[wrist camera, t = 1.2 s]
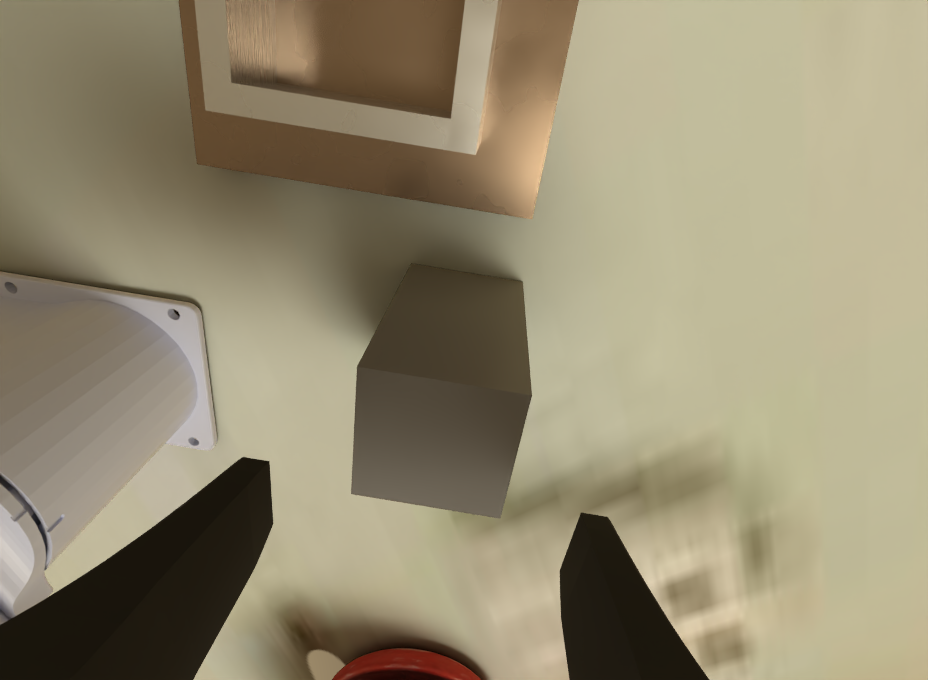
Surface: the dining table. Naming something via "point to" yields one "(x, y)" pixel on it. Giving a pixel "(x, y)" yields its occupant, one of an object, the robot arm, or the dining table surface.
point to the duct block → (443, 393)
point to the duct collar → (381, 93)
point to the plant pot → (404, 666)
